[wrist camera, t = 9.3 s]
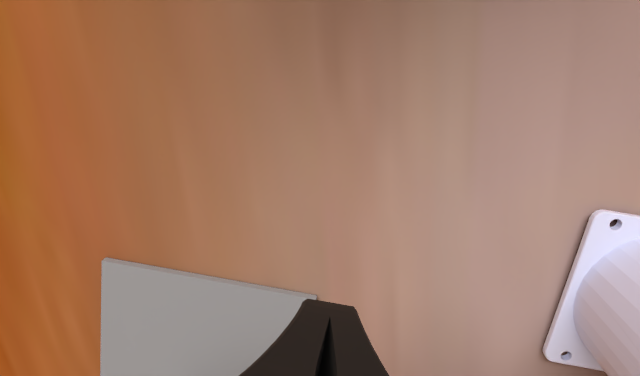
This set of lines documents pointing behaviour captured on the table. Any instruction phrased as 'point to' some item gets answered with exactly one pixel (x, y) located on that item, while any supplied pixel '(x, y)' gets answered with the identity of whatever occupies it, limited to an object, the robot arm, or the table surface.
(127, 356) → the mat
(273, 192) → the table surface
